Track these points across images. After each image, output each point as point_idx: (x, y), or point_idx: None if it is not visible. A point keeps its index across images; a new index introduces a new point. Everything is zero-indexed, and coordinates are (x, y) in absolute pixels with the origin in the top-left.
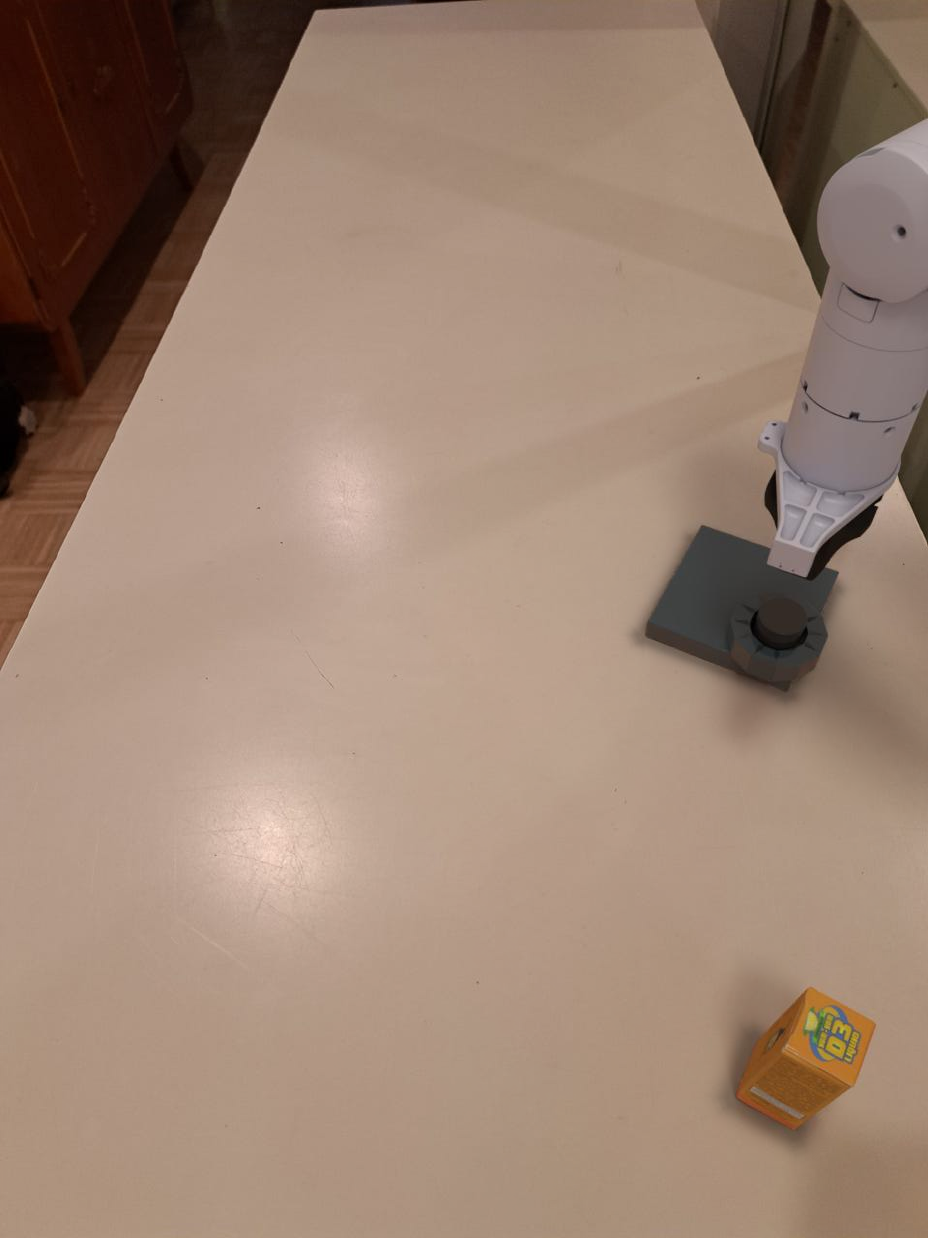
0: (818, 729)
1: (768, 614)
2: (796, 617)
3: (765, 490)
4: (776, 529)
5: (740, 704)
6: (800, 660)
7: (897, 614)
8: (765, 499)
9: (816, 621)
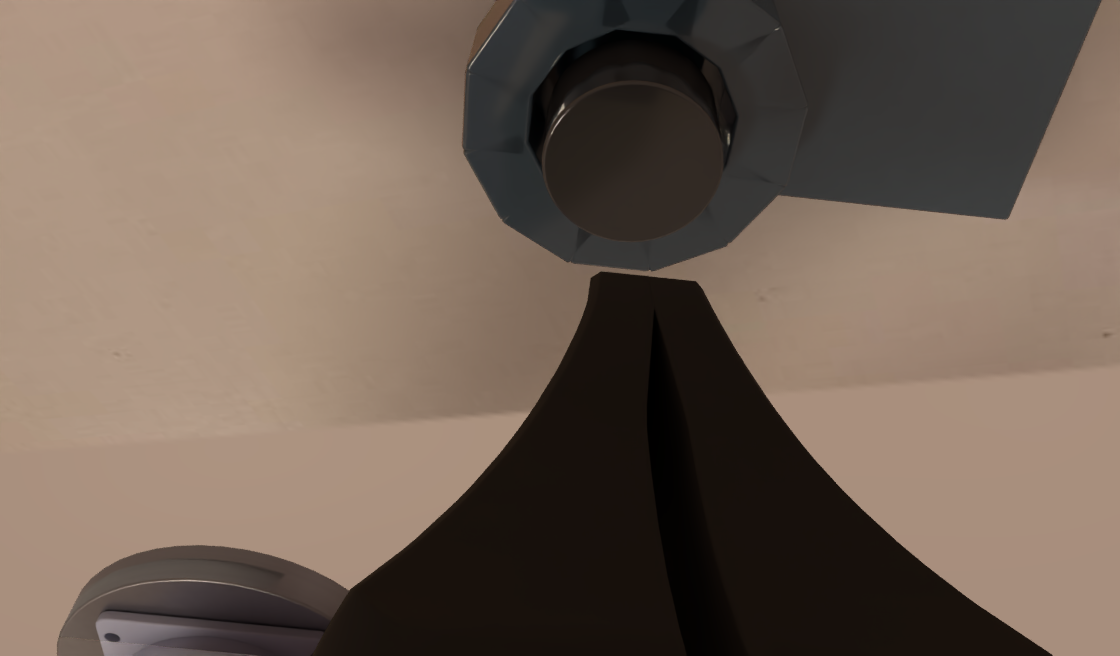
0: (438, 221)
1: (616, 119)
2: (634, 210)
3: (416, 649)
4: (523, 434)
5: (420, 7)
6: (515, 217)
7: (903, 340)
8: (354, 630)
9: (699, 233)
